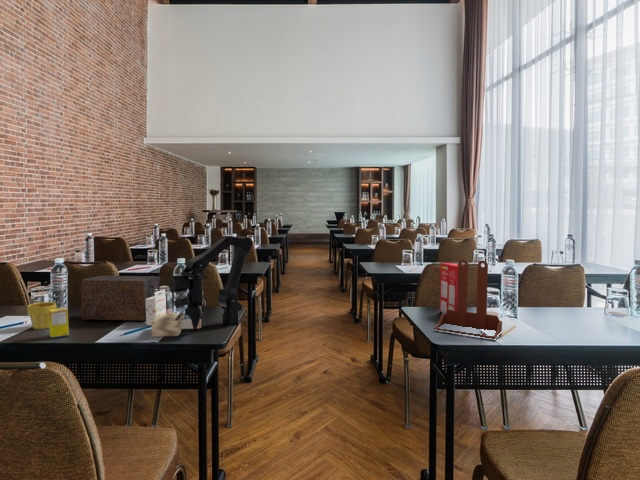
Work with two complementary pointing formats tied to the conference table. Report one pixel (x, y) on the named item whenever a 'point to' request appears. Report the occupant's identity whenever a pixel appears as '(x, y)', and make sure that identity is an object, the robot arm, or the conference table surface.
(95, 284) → the decorative box
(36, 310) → the plant pot
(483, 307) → the hanging shelf
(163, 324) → the tan box with rod
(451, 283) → the food packaging
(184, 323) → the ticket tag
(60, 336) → the supplement box
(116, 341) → the conference table surface
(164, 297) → the ink cartridge box
